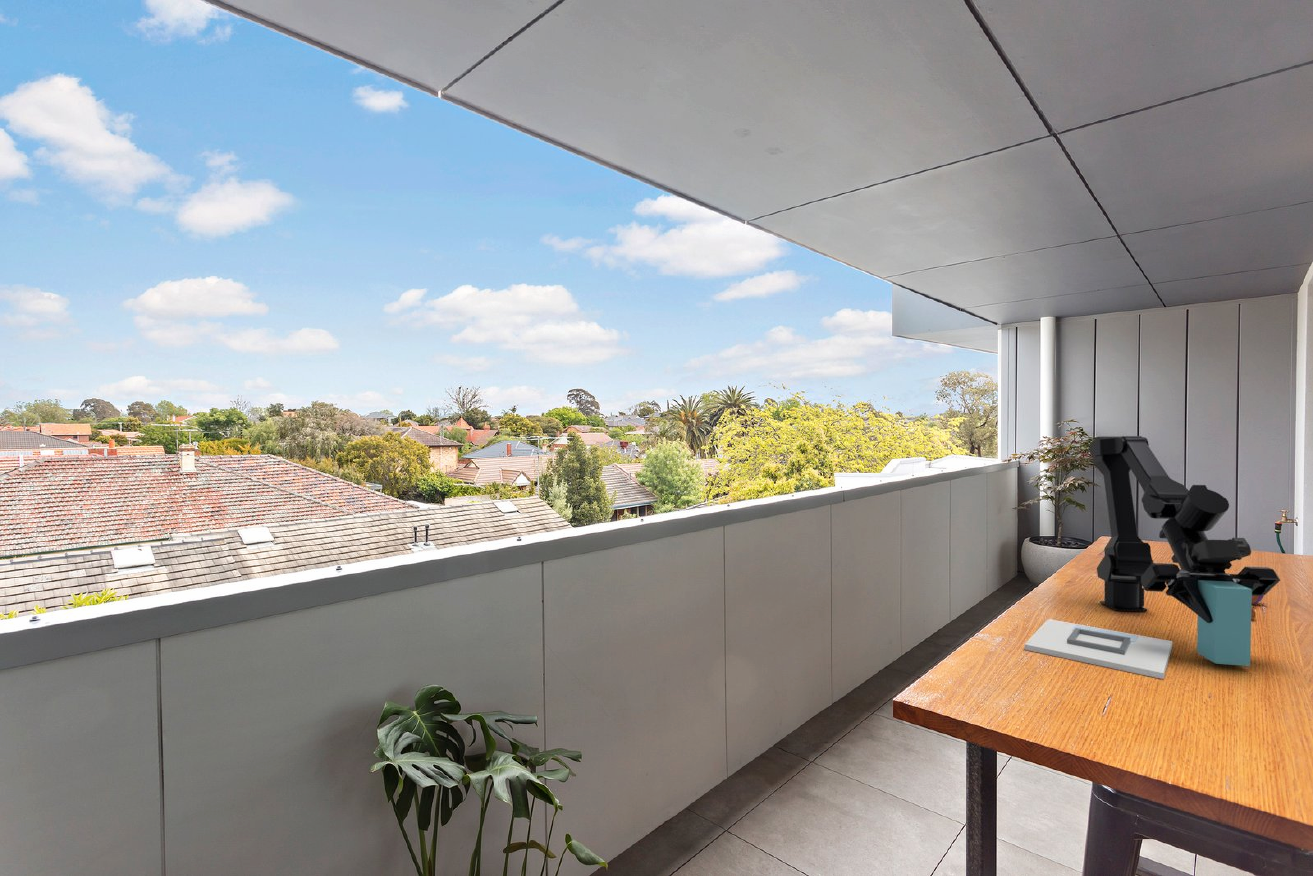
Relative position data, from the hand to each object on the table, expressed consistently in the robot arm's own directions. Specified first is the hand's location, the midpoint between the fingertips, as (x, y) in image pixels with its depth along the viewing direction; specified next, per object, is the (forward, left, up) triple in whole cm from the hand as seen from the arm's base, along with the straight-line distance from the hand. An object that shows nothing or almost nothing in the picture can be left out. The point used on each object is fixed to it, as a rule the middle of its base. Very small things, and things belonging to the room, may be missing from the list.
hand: (1229, 623), depth 105 cm
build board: (-16, +9, -8) cm, 20 cm away
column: (0, +1, -7) cm, 7 cm away
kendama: (+32, +34, -8) cm, 48 cm away
